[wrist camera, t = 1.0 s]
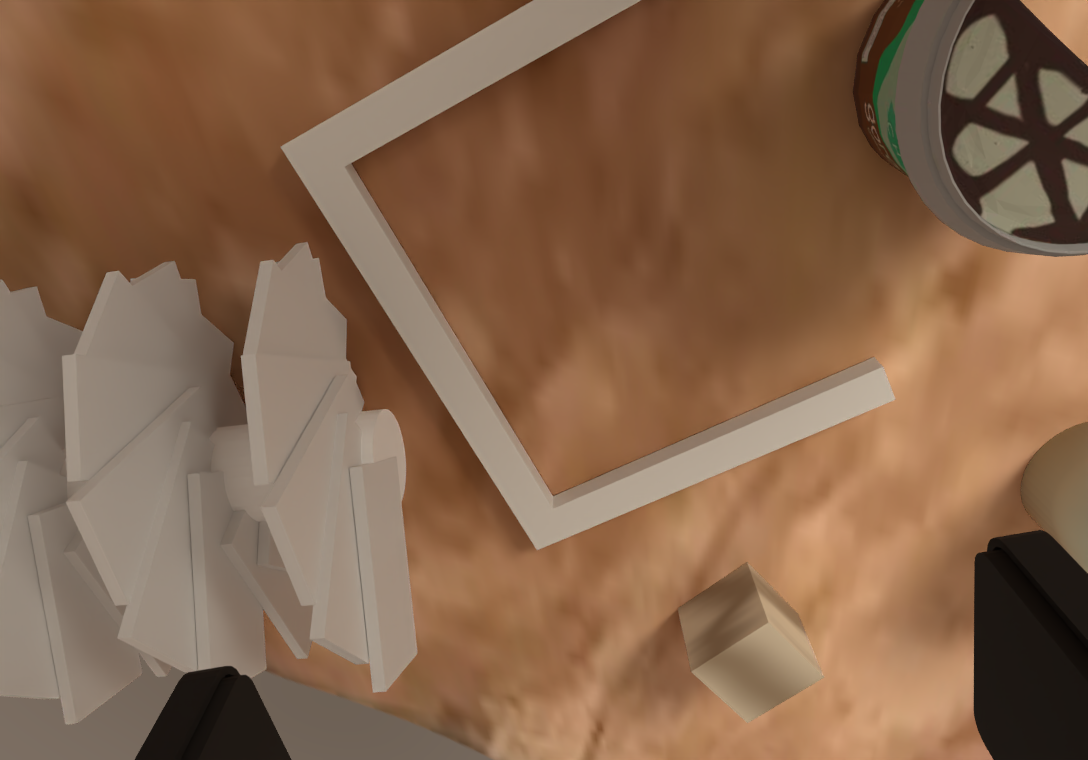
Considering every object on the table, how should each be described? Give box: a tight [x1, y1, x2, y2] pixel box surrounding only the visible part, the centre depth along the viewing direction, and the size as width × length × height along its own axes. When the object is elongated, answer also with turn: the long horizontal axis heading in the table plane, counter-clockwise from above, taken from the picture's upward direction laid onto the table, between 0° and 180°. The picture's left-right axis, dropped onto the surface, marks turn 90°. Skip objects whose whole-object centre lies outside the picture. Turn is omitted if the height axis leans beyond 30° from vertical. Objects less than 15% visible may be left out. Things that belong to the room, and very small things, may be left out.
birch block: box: [678, 562, 824, 723], centre depth 44 cm, size 5×5×5 cm
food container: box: [853, 0, 1088, 257], centre depth 30 cm, size 12×6×10 cm, turn 53°
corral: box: [281, 0, 895, 550], centre depth 37 cm, size 20×24×1 cm
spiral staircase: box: [0, 242, 417, 724], centre depth 33 cm, size 18×18×25 cm
